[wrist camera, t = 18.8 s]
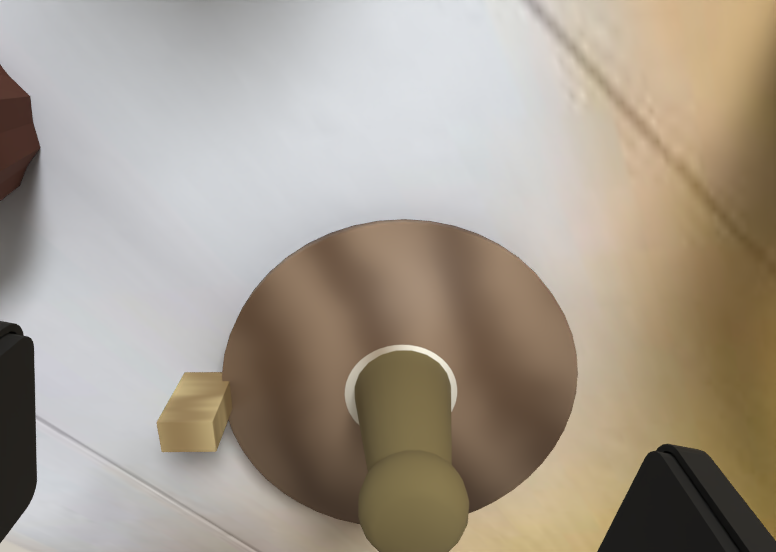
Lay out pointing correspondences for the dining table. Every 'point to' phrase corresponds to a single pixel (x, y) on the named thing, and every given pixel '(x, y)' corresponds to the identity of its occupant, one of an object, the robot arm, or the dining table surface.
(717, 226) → the dining table surface
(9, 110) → the muffin
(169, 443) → the turntable
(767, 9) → the dining table surface
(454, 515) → the cork
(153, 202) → the dining table surface
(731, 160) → the dining table surface
